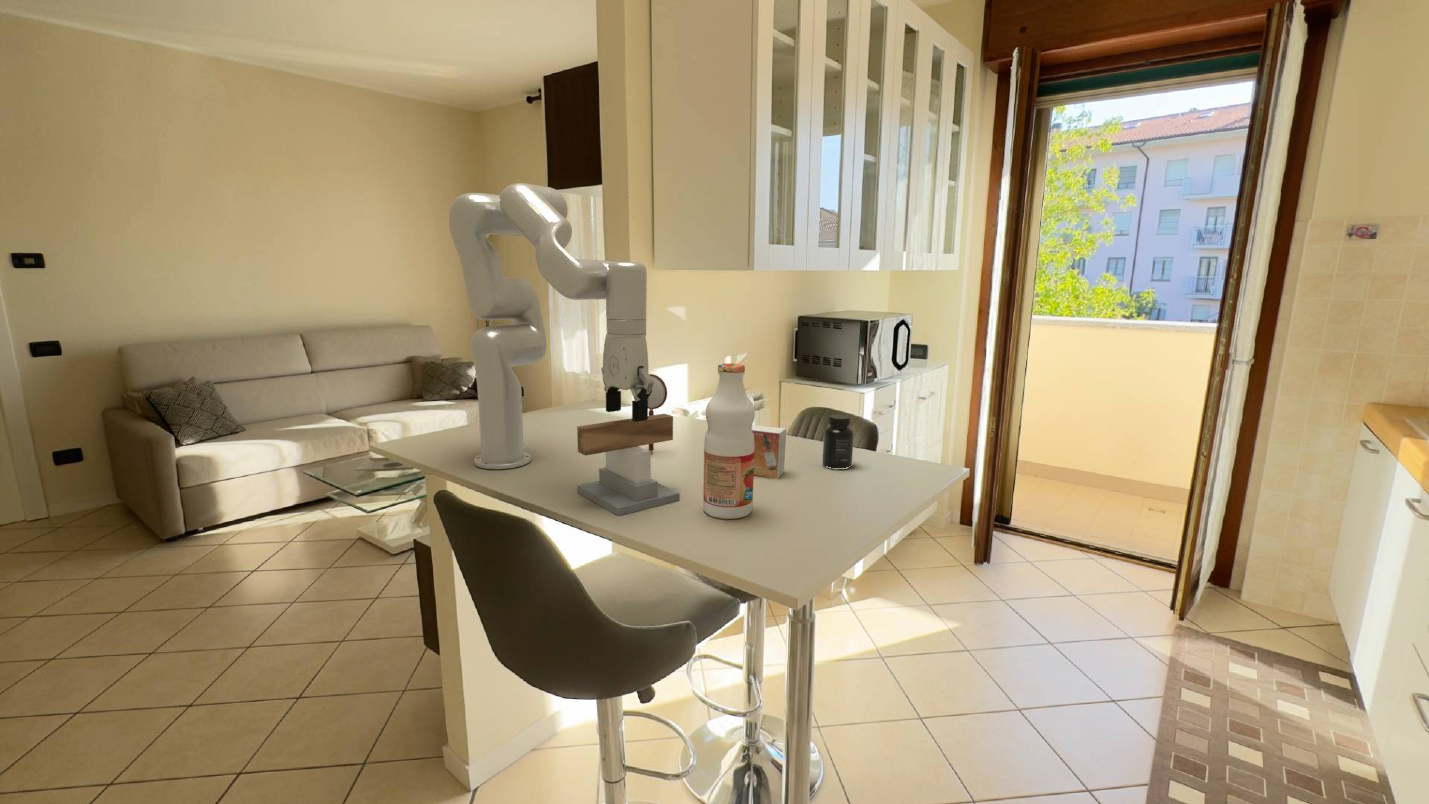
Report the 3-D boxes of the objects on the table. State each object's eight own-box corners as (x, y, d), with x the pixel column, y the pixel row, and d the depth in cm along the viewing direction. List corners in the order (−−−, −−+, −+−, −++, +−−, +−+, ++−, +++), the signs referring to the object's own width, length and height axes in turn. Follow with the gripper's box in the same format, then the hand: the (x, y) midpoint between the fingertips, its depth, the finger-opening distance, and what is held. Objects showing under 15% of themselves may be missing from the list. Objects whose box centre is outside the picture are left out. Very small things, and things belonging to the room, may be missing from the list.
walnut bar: (577, 452, 122) (577, 426, 121) (664, 436, 135) (664, 413, 134) (585, 455, 120) (584, 429, 119) (672, 439, 132) (673, 416, 131)
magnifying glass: (668, 455, 159) (668, 375, 155) (664, 457, 157) (665, 376, 153) (637, 450, 162) (637, 372, 158) (634, 452, 161) (633, 373, 157)
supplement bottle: (855, 465, 154) (859, 416, 151) (845, 472, 148) (848, 421, 146) (828, 460, 157) (831, 412, 155) (817, 467, 152) (820, 417, 149)
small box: (743, 474, 145) (744, 429, 143) (751, 467, 150) (753, 423, 148) (777, 479, 142) (779, 433, 140) (784, 472, 147) (786, 427, 145)
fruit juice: (698, 503, 126) (700, 361, 120) (744, 501, 128) (749, 361, 123) (708, 521, 117) (711, 369, 111) (758, 518, 119) (764, 368, 114)
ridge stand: (577, 492, 131) (576, 442, 129) (635, 479, 140) (635, 432, 138) (618, 515, 119) (617, 461, 117) (679, 500, 128) (680, 449, 126)
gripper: (586, 325, 127) (587, 409, 130) (634, 333, 114) (633, 427, 117) (619, 323, 132) (619, 405, 135) (668, 331, 119) (667, 422, 122)
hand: (626, 415), depth 126 cm, fingers open, 9 cm apart
